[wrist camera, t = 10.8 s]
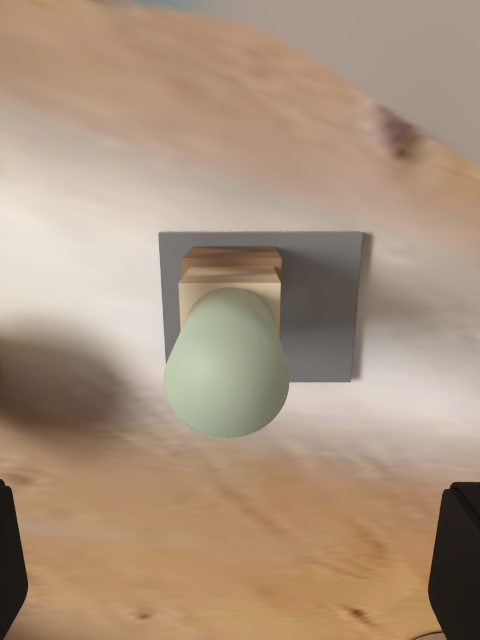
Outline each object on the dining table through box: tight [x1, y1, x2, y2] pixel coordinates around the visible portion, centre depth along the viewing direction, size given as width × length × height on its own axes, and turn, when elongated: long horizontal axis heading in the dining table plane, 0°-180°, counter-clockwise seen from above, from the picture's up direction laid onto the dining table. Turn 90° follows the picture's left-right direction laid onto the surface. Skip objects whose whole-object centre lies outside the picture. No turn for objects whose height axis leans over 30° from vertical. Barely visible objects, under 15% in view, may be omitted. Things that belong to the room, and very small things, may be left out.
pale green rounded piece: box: [164, 287, 289, 438], centre depth 18 cm, size 5×5×6 cm
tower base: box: [182, 246, 282, 334], centre depth 29 cm, size 6×6×6 cm
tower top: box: [179, 266, 281, 335], centre depth 23 cm, size 5×5×5 cm
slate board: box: [159, 232, 363, 382], centre depth 32 cm, size 15×12×1 cm
